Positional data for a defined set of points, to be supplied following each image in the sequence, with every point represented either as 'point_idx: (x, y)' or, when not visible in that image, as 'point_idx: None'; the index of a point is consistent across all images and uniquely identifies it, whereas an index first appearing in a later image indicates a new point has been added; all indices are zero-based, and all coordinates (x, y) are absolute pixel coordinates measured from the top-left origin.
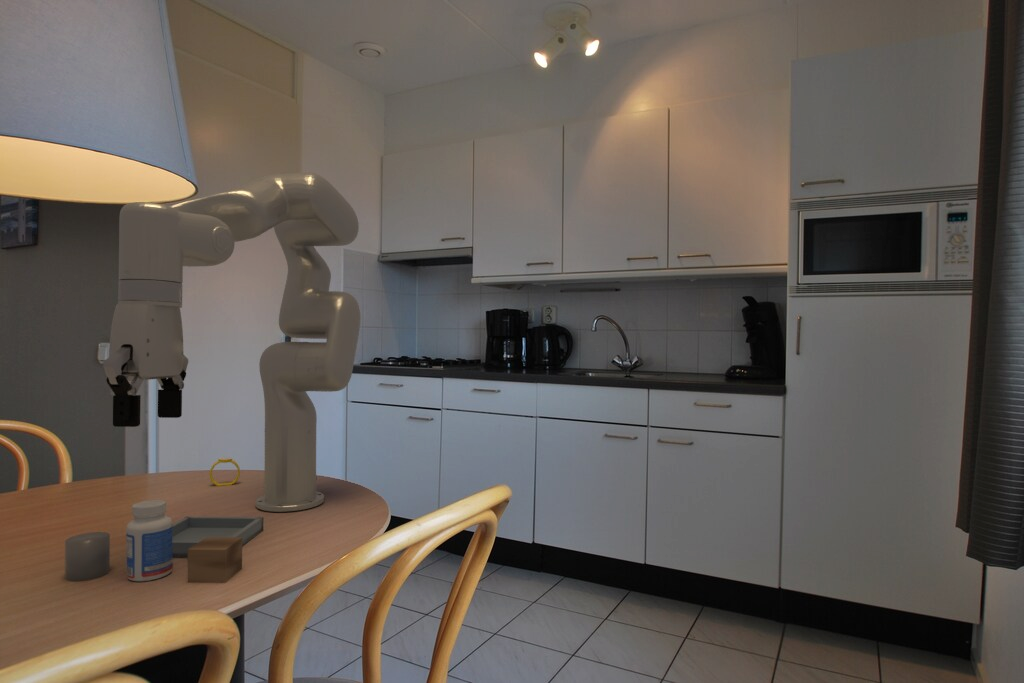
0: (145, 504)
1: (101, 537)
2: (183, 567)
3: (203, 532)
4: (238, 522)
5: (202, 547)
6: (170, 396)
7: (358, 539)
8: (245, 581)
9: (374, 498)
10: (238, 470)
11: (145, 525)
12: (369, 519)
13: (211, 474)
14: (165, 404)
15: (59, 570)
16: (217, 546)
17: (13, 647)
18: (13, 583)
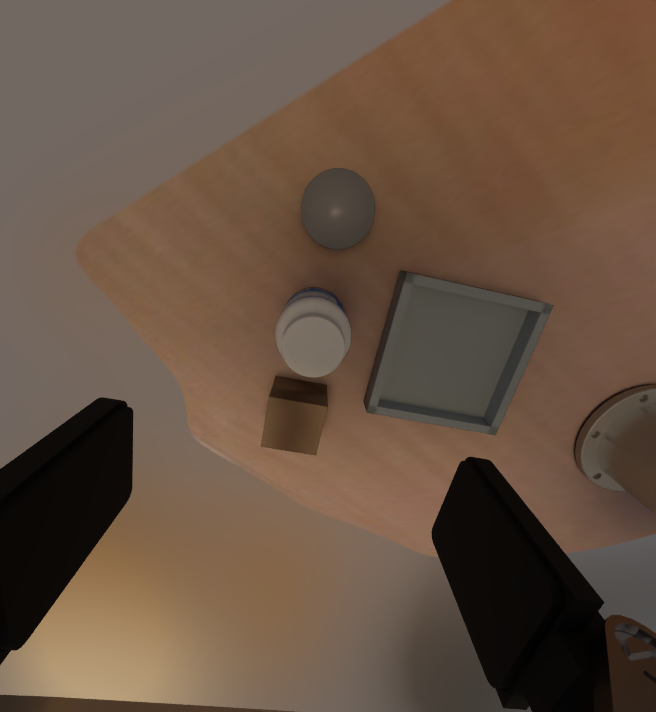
0: (307, 342)
1: (335, 237)
2: None
3: (487, 342)
4: (499, 395)
5: (276, 414)
6: (495, 612)
7: (400, 538)
8: None
9: (601, 546)
10: None
11: (279, 342)
12: None
13: None
14: (481, 540)
15: (363, 153)
16: (277, 433)
17: (84, 239)
18: (312, 98)
